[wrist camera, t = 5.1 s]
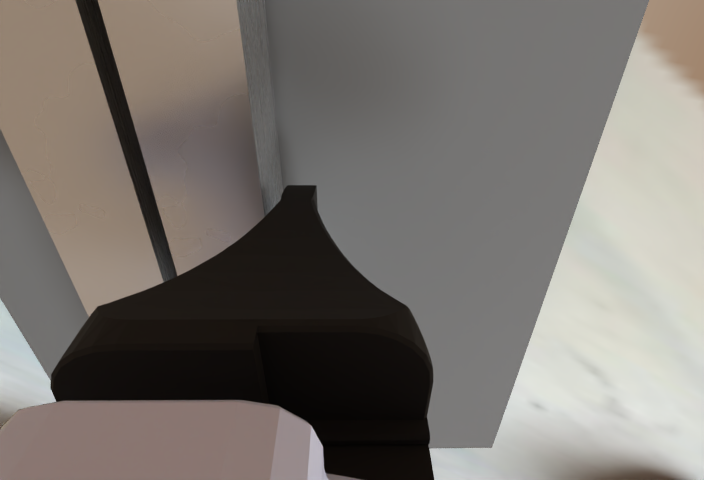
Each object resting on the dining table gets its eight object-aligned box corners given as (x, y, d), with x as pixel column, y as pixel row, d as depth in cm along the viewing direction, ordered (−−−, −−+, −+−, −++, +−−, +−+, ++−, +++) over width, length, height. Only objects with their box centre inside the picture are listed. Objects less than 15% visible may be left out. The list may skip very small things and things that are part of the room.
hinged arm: (305, 415, 19) (300, 486, 17) (219, 416, 19) (200, 487, 17) (238, -301, 8) (184, -429, 5) (11, -305, 7) (-164, -436, 5)
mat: (98, 444, 22) (94, 452, 21) (-488, -549, 6) (-533, -576, 6) (489, 440, 22) (491, 447, 22) (812, -510, 7) (835, -533, 6)
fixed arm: (230, 364, 18) (211, 433, 15) (170, 364, 18) (141, 434, 15) (78, -295, 8) (-53, -416, 5) (-63, -299, 8) (-268, -422, 5)
